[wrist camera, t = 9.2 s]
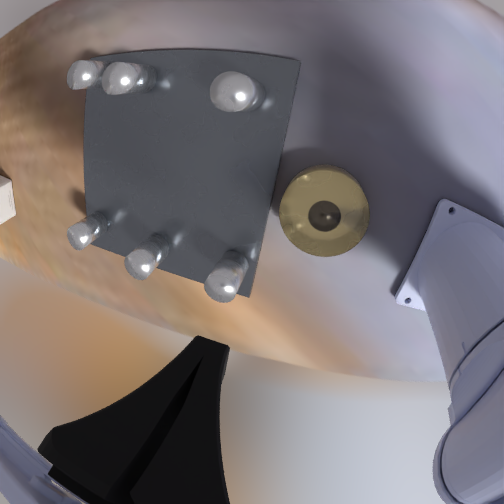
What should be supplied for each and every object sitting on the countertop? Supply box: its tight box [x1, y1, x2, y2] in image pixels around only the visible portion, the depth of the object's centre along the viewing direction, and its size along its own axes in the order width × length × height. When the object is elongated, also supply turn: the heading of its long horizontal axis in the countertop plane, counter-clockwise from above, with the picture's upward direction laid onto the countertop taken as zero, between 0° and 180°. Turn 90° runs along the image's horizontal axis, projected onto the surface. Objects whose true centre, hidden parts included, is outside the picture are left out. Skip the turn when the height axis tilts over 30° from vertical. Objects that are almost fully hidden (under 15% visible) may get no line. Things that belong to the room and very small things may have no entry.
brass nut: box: [279, 165, 370, 257], centre depth 16 cm, size 5×5×2 cm
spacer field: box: [67, 50, 301, 303], centre depth 16 cm, size 15×16×4 cm
